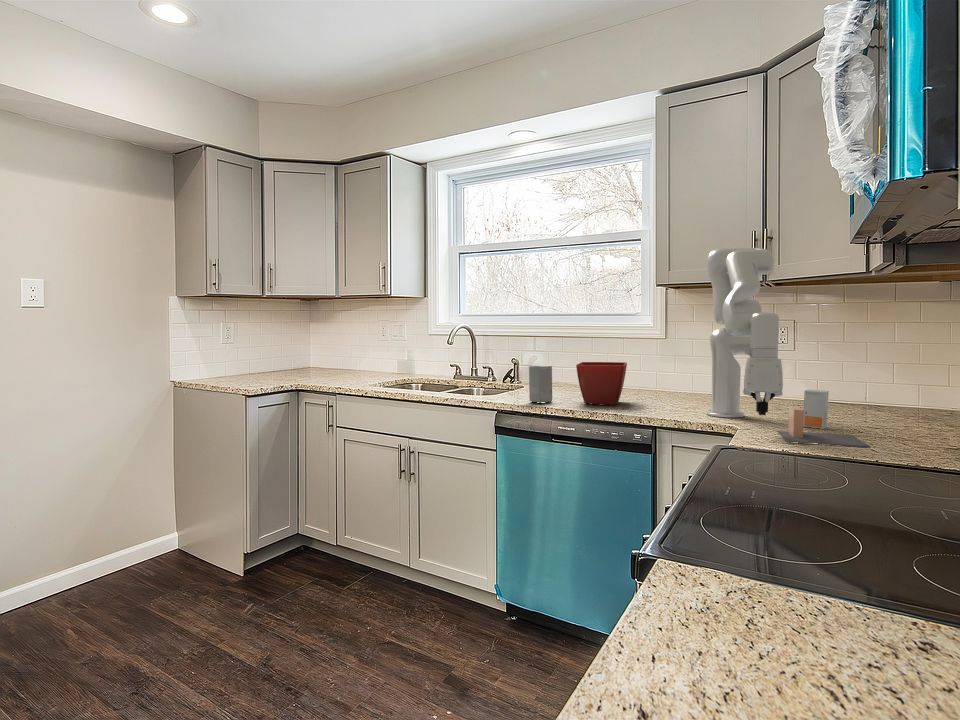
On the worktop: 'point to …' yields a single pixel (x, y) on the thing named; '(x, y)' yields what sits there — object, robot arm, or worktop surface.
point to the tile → (796, 421)
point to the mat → (824, 439)
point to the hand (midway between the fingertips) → (761, 414)
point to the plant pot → (601, 381)
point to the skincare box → (815, 408)
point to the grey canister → (540, 383)
